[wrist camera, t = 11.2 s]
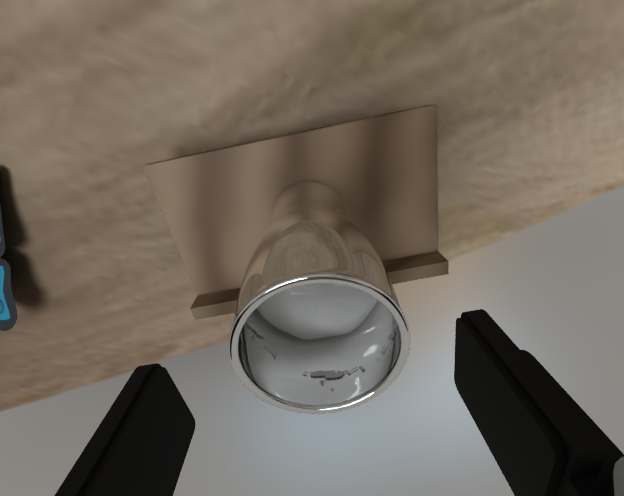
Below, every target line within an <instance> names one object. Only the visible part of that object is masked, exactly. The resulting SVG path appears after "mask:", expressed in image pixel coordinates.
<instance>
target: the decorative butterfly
mask: <svg viewBox="0 0 624 496" xmlns="http://www.w3.org/2000/svg"><path fill="white" fill-rule="evenodd" d="M4 251H5V241H4V233H3V225H2V217H1V206H0V330H2V331H7V330H9V329H11V328H12V327H13V326H14V325H15V323H16V320H17V309H16V305H15V301H14V298H13V294H12V290H11V270H10V265H9V264H8V262H7V261H5V260H4V259H2V258H1V256H2V255H3V254H4Z"/></svg>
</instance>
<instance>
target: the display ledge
mask: <svg viewBox="0 0 624 496" xmlns="http://www.w3.org/2000/svg"><path fill="white" fill-rule="evenodd" d="M143 169H144V171H145V174H146V176H147V178H148V181H149V183H150V185H151V188H152V190H153V192H154V195H155V197H156V199H157V202H158V204H159V206H160V209H161V211H162V213H163V216H164V218H165V220H166V223H167V225H168V227H169V230H170V232H171V234H172V237H173V239H174V241H175V244H176V246H177V248H178V251H179V253H180V255H181V258H182V260H183V262H184V265H185V267H186V269H187V272H188V274H189V276H190V279H191V281H192V283H193V286H194V288H195V290H196V293H197V295H198V296H197V298H196V299H195V301H194V303H193V305H192V307H191V308H190V309H191V311H192V314H193V316H194V318H195V320H197V319H202V318H208V317H213V316H219V315H224V314H230V313H235V312H236V306H237V301H238V296H239V292H240V287H241V284H242V280H243V277H244V273H245V270H246V267H247V265H248V262H249V260H250V257H251V255H252V253H253V251H254V249H255V247H256V245H257V244H258V242H259V241H260V239H261V238H262V236H263V235H264V233H265V232H266V231H267V230H268V229H269V227H270V226H271V225H272V212H273V207H274V204H275V202H276V200H277V199H278V197H279V196H280V195H281V193H282V192H283V191H285V190H286V189H287V188H289V187H290V186H292V185H294V184H297V183H300V182H307V181H312V182H318V183H322V184H324V185H327V186H329V187H330V188H332V189H333V190H334V191H336V192H337V194H338V195H339V196H340V197H341V199H342V201H343V203H344V205H345V208H346V213H347V219H349V220H350V221H351V222H352V223H353V224H355V225H356V226H357V227H358V228H359V229H360V231H361V232H362V233H363V234H364V235H365V236H366V237H367V238H368V239H369V241H370V242H371V244H372V245H373V247H374V249H375V250H376V252H377V253H378V255H379V257H380V259H381V261H382V263H383V265H384V267H385V269H386V271H387V273H388V276H389V278H390V281H391V283H392V284H395V283H401V282H406V281H412V280H417V279H423V278H428V277H434V276H439V275H445V274H448V261H447V260H446V259H445V258H444V257H443V256H442V255H441V254H440V253H439V252H438V207H437V114H436V105H427V106H422V107H417V108H412V109H407V110H403V111H398V112H393V113H388V114H383V115H379V116H374V117H369V118H364V119H360V120H355V121H350V122H345V123H340V124H336V125H331V126H326V127H321V128H317V129H312V130H307V131H302V132H297V133H293V134H288V135H283V136H278V137H274V138H269V139H264V140H259V141H254V142H250V143H245V144H240V145H235V146H230V147H226V148H221V149H216V150H211V151H207V152H202V153H197V154H192V155H187V156H183V157H178V158H173V159H168V160H164V161H159V162H154V163H150V164H147V165H144V166H143Z"/></svg>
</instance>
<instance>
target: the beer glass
mask: <svg viewBox="0 0 624 496" xmlns="http://www.w3.org/2000/svg"><path fill="white" fill-rule="evenodd" d="M409 350H410V332H409V327H408V324H407V321H406V318H405V316H404V314H403V312H402V311H401V308H400V306H399V303H398V300H397V297H396V294H395V291H394V289H393V286H392V283H391V281H390V278H389V276H388V273H387V271H386V269H385V267H384V265H383V263H382V261H381V259H380V257H379V255H378V253H377V252H376V250H375V249H374V247H373V245H372V244H371V242H370V241H369V239H368V238H367V237H366V236H365V235H364V234H363V233H362V232H361V231H360V229H359V228H358V227H357V226H356V225H355V224H353V223H352V222H351V221H350V220H349V219H347V213H346V208H345V205H344V203H343V201H342V199H341V197H340V196H339V195H338V194H337V192H336V191H334V190H333V189H332V188H330V187H329V186H327V185H324V184H322V183H318V182H312V181H307V182H300V183H297V184H294V185H292V186H290V187H289V188H287V189H286V190H285V191H283V192H282V193H281V195H280V196H279V197H278V199H277V200H276V202H275V204H274V207H273V212H272V225H271V226H270V227H269V229H268V230H267V231H266V232H265V233H264V235H263V236H262V238H261V239H260V241H259V242H258V244H257V245H256V247H255V249H254V251H253V253H252V255H251V257H250V260H249V262H248V265H247V267H246V270H245V273H244V277H243V280H242V284H241V287H240V292H239V296H238V301H237V306H236V312H235V318H234V323H233V326H232V329H231V332H230V336H229V356H230V361H231V364H232V367H233V369H234V371H235V373H236V375H237V377H238V378H239V379H240V381H241V382H242V383H243V385H244V386H245V387H246V388H247V389H248V390H249V391H250V392H252V393H253V394H254V395H255V396H257V397H258V398H260V399H261V400H263V401H265V402H267V403H269V404H271V405H273V406H276V407H279V408H282V409H285V410H288V411H293V412H298V413H308V414H323V413H332V412H338V411H343V410H347V409H350V408H353V407H356V406H359V405H361V404H363V403H366V402H368V401H369V400H371V399H373V398H374V397H376V396H378V395H379V394H381V393H382V392H383V391H384V390H386V389H387V388H388V387H389V386H390V385H391V384H392V383H393V382H394V381H395V380H396V378H397V377H398V376H399V374H400V373H401V371H402V369H403V367H404V365H405V363H406V361H407V358H408V354H409Z"/></svg>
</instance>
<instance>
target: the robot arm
mask: <svg viewBox="0 0 624 496" xmlns="http://www.w3.org/2000/svg"><path fill="white" fill-rule="evenodd" d="M455 342H456V343H455V371H454V380H455V384H456V387H457V390H458V391H459V394H460V395H461V397H462V399H463V401H464V403H465V405H466V406H467V408H468V410H469V412H470V414H471V416H472V418H473V419H474V421H475V423H476V425H477V427H478V429H479V430H480V432H481V434H482V436H483V438H484V440H485V441H486V443H487V445H488V447H489V449H490V451H491V452H492V454H493V456H494V458H495V460H496V461H497V464H498V465H499V467H500V469H501V471H502V473H503V475H504V476H505V478H506V480H507V482H508V484H509V486H510V487H511V489H512V491H513V493H514V495H515V496H624V454H623V453H622V452H621V451H620V450H619V449H618V448H617V447H616V446H615V444H614V443H613V442H612V441H611V440H610V439H609V438H608V437H607V436H606V435H605V434H604V432H603V431H602V430H601V429H600V428H599V427H598V426H597V425H596V424H595V423H594V422H593V420H592V419H591V418H590V417H589V416H588V415H587V414H586V413H585V412H584V411H583V410H582V409H581V407H579V405H578V404H577V403H576V402H575V401H574V400H573V399H572V398H571V397H570V395H569V394H568V393H567V392H566V391H565V390H564V389H563V388H562V387H561V386H560V385H559V384H558V383H557V381H556V380H555V379H554V378H553V377H552V376H551V375H550V374H549V373H548V372H547V371H546V370H545V368H544V367H543V366H542V365H541V364H540V363H539V362H538V361H537V360H536V358H535V357H534V356H532V355H531V354H530V353H529V352H527V351H525V350H520V349H519V348H518V347H517V346H516V345H515V344H514V343H513V342H512V340H511V339H510V338H509V337H508V336H507V335H506V334H505V333H504V332H503V330H502V329H501V328H500V327H499V326H498V325H497V324H496V323H495V321H494V320H493V319H492V318H491V317H490V316H489V315H488V313H487V312H486V311H484V310H482V309H480V310H475V311H469V312H463V313H462V315H461V318H457V320H456V339H455ZM194 430H195V419H194V417H193V415H192V413H191V412H190V410H189V408H188V406H187V405H186V403H185V401H184V400H183V398H182V396H181V394H180V392H179V391H178V389H177V388H176V385H175V384H174V382H173V380H172V378H171V377H170V375H169V373H168V372H167V370H166V368H164V367H161V365H160V364H158V363H157V364H150V365H144V366H139V367H137V368H136V369H135V370H134V372H133V374H132V375H131V377H130V378H129V380H128V381H127V383H126V385H125V386H124V388H123V389H122V391H121V392H120V394H119V396H118V397H117V399H116V400H115V402H114V403H113V405H112V406H111V408H110V410H109V411H108V413H107V414H106V416H105V418H104V419H103V421H102V422H101V424H100V425H99V427H98V429H97V430H96V432H95V433H94V435H93V436H92V438H91V440H90V441H89V443H88V444H87V446H86V447H85V449H84V451H83V452H82V454H81V455H80V457H79V458H78V460H77V461H76V463H75V464H74V466H73V468H72V469H71V471H70V472H69V474H68V476H67V477H66V479H65V480H64V482H63V484H62V485H61V486H60V488H59V490H58V491H57V493H56V494H55V496H173V493H174V490H175V487H176V484H177V481H178V478H179V475H180V472H181V469H182V466H183V463H184V460H185V457H186V454H187V451H188V448H189V445H190V442H191V439H192V436H193V433H194Z"/></svg>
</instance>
